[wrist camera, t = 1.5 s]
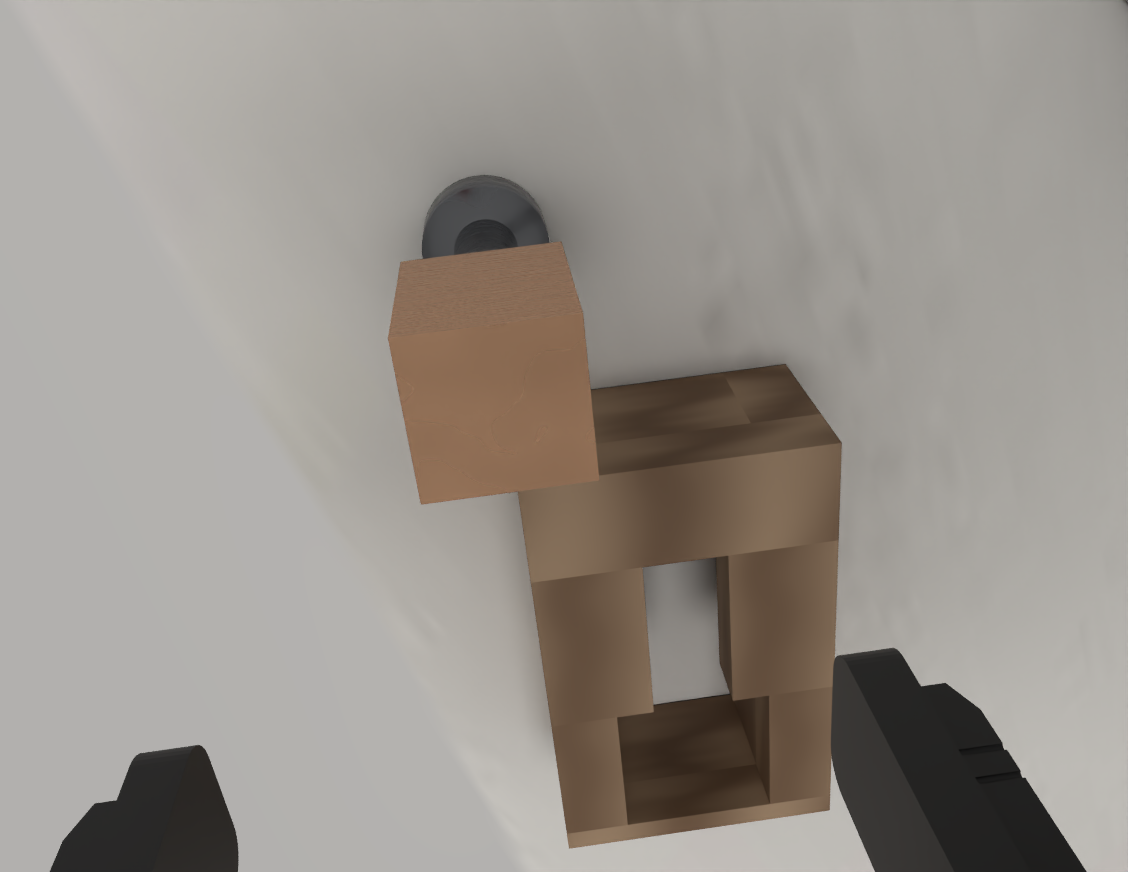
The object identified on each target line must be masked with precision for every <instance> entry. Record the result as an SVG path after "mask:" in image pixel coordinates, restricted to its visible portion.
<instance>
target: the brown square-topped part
mask: <svg viewBox="0 0 1128 872" xmlns="http://www.w3.org/2000/svg"><path fill="white" fill-rule="evenodd" d="M422 255H423V259H419V260H411V261H403V262H401V264H400V269H399V275H398V281H397V287H396V293H395V299H394V305H393V311H392V317H391V323H390V329H389V335H388V341H389V346H390V351H391V356H392V361H393V366H394V371H395V376H396V381H397V386H398V391H399V396H400V401H401V406H402V411H403V416H404V421H405V426H406V431H407V436H408V441H409V446H410V451H411V457H412V462H413V467H414V472H415V477H416V482H417V487H418V492H419V497H420V502H421V504H428V503H436V502H443V501H451V500H458V499H465V498H473V497H480V496H488V495H495V494H503V493H510V492H517V491H525V490H532V489H540V488H547V487H555V486H562V485H569V484H577V483H584V482H592V481H599V471H598V461H597V451H596V440H595V430H594V420H593V410H592V400H591V390H590V380H589V369H588V359H587V349H586V339H585V329H584V319H583V312H582V308H581V305H580V302H579V298H578V295H577V292H576V288H575V285H574V282H573V279H572V275H571V272H570V269H569V265H568V262H567V259H566V255H565V252H564V249H563V246H562V242H553V243H549V237H548V233H547V229H546V225H545V221H544V218H543V215H542V213H541V211H540V209H539V207H538V205H537V203H536V202H535V200H534V199H533V198H532V197H531V196H530V194H529V193H527V192H526V191H525V190H524V189H523V188H521V187H520V186H519V185H517V184H515V183H513V182H511V181H509V180H507V179H504V178H501V177H496V176H488V175H480V176H472V177H468V178H465V179H462V180H459V181H457V182H455V183H453V184H452V185H450V186H449V187H447V188H446V189H445V190H444V191H443V192H441V193H440V195H439V196H438V197H437V198H436V199H435V201H434V202H433V204H432V205H431V207H430V209H429V211H428V213H427V217H426V220H425V225H424V231H423V240H422Z"/></svg>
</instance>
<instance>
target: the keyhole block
mask: <svg viewBox="0 0 1128 872" xmlns="http://www.w3.org/2000/svg"><path fill="white" fill-rule="evenodd" d="M591 400H592V410H593V420H594V430H595V440H596V451H597V461H598V471H599V481H592V482H584V483H577V484H569V485H562V486H555V487H547V488H540V489H532V490H525V491H518V497H519V504H520V510H521V517H522V524H523V531H524V538H525V545H526V552H527V559H528V566H529V573H530V580H531V587H532V594H533V601H534V608H535V615H536V622H537V629H538V636H539V643H540V649H541V656H542V663H543V670H544V677H545V684H546V691H547V698H548V705H549V712H550V719H551V726H552V733H553V740H554V747H555V754H556V761H557V768H558V775H559V781H560V788H561V795H562V802H563V809H564V816H565V823H566V830H567V837H568V844H569V848H576V847H583V846H590V845H597V844H603V843H610V842H617V841H624V840H631V839H637V838H644V837H651V836H658V835H665V834H671V833H678V832H685V831H692V830H699V829H705V828H712V827H719V826H726V825H733V824H739V823H746V822H753V821H760V820H767V819H773V818H780V817H787V816H794V815H801V814H807V813H814V812H821V811H828V810H830V781H831V717H832V687H833V665H834V660H835V630H836V600H837V569H838V539H839V509H840V479H841V448H842V443H841V441H840V440H839V438H838V437H837V436H836V434H835V433H834V431H833V430H832V429H831V427H830V426H829V424H828V423H827V422H826V420H825V419H824V417H823V416H822V415H821V413H820V412H819V410H818V409H817V408H816V406H815V405H814V403H813V402H812V401H811V399H810V398H809V396H808V395H807V394H806V392H805V391H804V389H803V388H802V387H801V385H800V384H799V382H798V381H797V380H796V378H795V377H794V375H793V374H792V373H791V371H790V370H789V368H788V367H787V366H786V364H784V365H777V366H769V367H762V368H754V369H746V370H739V371H731V372H724V373H716V374H708V375H701V376H693V377H686V378H678V379H671V380H663V381H655V382H648V383H640V384H633V385H625V386H617V387H610V388H602V389H595V390H591ZM714 557H716V575H717V602H718V630H719V657H720V665H721V668H722V671H723V674H724V677H725V680H726V683H727V686H728V689H729V691H730V695H723V696H716V697H709V698H702V699H695V700H688V701H681V702H674V703H667V704H660V705H653V696H652V683H651V671H650V658H649V645H648V633H647V620H646V607H645V595H644V582H643V569H642V567H649V566H656V565H664V564H671V563H678V562H685V561H693V560H700V559H707V558H714Z"/></svg>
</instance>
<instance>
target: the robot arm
mask: <svg viewBox="0 0 1128 872" xmlns="http://www.w3.org/2000/svg"><path fill="white" fill-rule="evenodd" d="M1126 1H1127V2H1128V0H1126ZM831 754H832V761H833V767H834V771H835V775H836V779H837V783H838V786H839V789H840V792H841V794H842V797H843V799H844V801H845V803H846V806H847V808H848V810H849V813H850V815H851V817H852V820H853V822H854V824H855V827H856V829H857V831H858V833H859V836H860V838H861V840H862V843H863V845H864V847H865V850H866V852H867V854H868V856H869V859H870V861H871V863H872V866H873V868H874V870H875V872H1086V870H1085V869H1084V867H1083V866H1082V864H1081V863H1080V861H1079V859H1078V858H1077V856H1076V855H1075V853H1074V852H1073V850H1072V849H1071V847H1070V846H1069V844H1068V843H1067V841H1066V840H1065V838H1064V836H1063V835H1062V833H1061V832H1060V830H1059V829H1058V827H1057V826H1056V824H1055V823H1054V821H1053V820H1052V818H1051V817H1050V815H1049V814H1048V812H1047V810H1046V809H1045V807H1044V806H1043V804H1042V803H1041V801H1040V800H1039V798H1038V797H1037V795H1036V794H1035V792H1034V791H1033V789H1032V788H1031V786H1030V784H1029V783H1028V781H1027V780H1026V778H1022V776H1021V773H1020V769H1019V768H1018V766H1017V765H1016V763H1015V761H1014V760H1013V758H1012V757H1011V755H1010V754H1009V752H1008V751H1007V750H1004V748H1003V745H1002V742H1001V740H1000V739H999V737H998V735H997V734H996V732H995V731H994V729H993V728H992V726H991V725H990V723H989V722H988V720H987V719H986V717H985V716H984V714H983V712H982V711H981V710H980V709H979V708H978V707H976V706H975V705H974V704H973V703H971V702H970V701H969V700H967V699H966V698H965V697H963V696H962V695H961V694H959V693H958V692H957V691H955V690H954V689H953V688H951V687H950V686H949V685H948V684H946V683H942V684H935V685H928V686H920V684H919V683H918V681H917V679H916V678H915V676H914V674H913V672H912V671H911V669H910V667H909V666H908V664H907V662H906V661H905V659H904V657H903V656H902V654H901V653H900V652H899V651H898V650H897V649H895V648H889V649H882V650H875V651H868V652H861V653H854V654H847V655H840V656H837V657H836V658H835V660H834V665H833V687H832V717H831ZM50 872H238V843H237V836H236V832H235V828H234V825H233V822H232V819H231V817H230V814H229V811H228V808H227V806H226V803H225V800H224V797H223V795H222V792H221V789H220V786H219V784H218V781H217V779H216V776H215V773H214V770H213V767H212V765H211V762H210V759H209V757H208V754H207V752H206V750H205V749H204V748H203V747H202V746H200V745H195V746H188V747H181V748H174V749H168V750H161V751H153V752H147V753H140V754H138V755H137V756H136V757H135V758H134V759H133V761H132V762H131V765H130V767H129V770H128V772H127V775H126V778H125V780H124V783H123V785H122V788H121V790H120V793H119V796H118V798H117V800H116V801H109V802H103V803H96V804H94V805H93V806H92V807H91V809H90V810H89V811H88V812H87V813H86V815H85V816H84V817H83V818H82V819H81V820H80V821H79V823H78V824H77V825H76V826H75V827H74V828H73V830H72V831H71V832H70V833H69V834H68V835H67V837H66V838H65V839H64V840H63V842H62V844H61V846H60V849H59V851H58V853H57V856H56V858H55V861H54V863H53V865H52V868H51V870H50Z"/></svg>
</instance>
